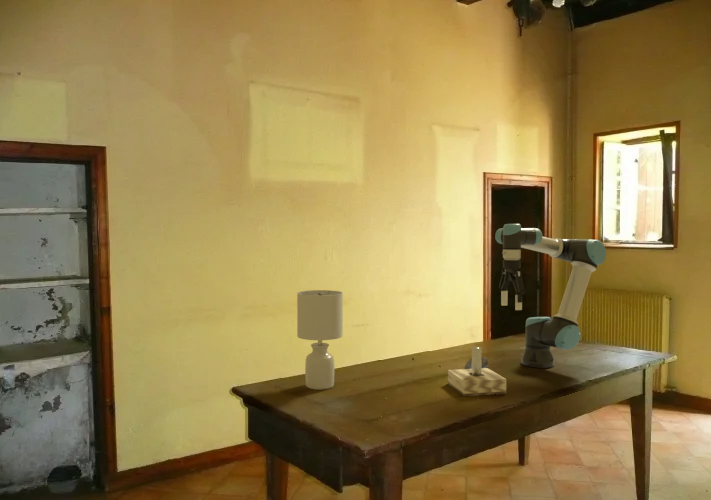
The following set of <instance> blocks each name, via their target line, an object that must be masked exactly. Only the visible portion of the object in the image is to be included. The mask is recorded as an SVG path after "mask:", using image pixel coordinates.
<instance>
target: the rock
mask: <svg viewBox="0 0 711 500" xmlns="http://www.w3.org/2000/svg"><path fill="white" fill-rule="evenodd" d="M482 368H488V369H490V364H489V361H488V359H487V358H484V356H482ZM464 369H472V357H471V358H470V359H468V360H467V361H466V363H465V366H464ZM490 370H491V369H490Z"/></svg>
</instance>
